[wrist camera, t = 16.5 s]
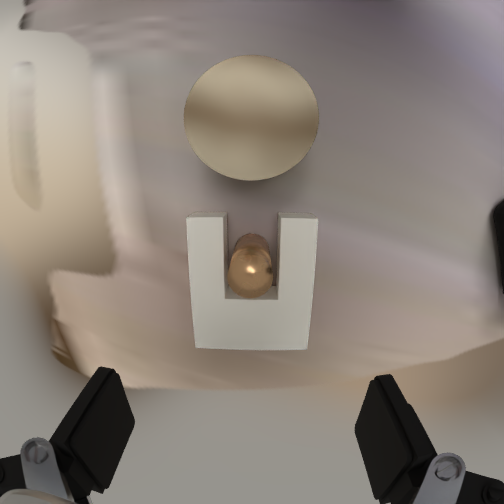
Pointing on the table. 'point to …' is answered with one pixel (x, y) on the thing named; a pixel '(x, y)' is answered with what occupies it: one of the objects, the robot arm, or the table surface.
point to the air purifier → (500, 234)
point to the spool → (251, 117)
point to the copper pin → (250, 267)
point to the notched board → (251, 309)
